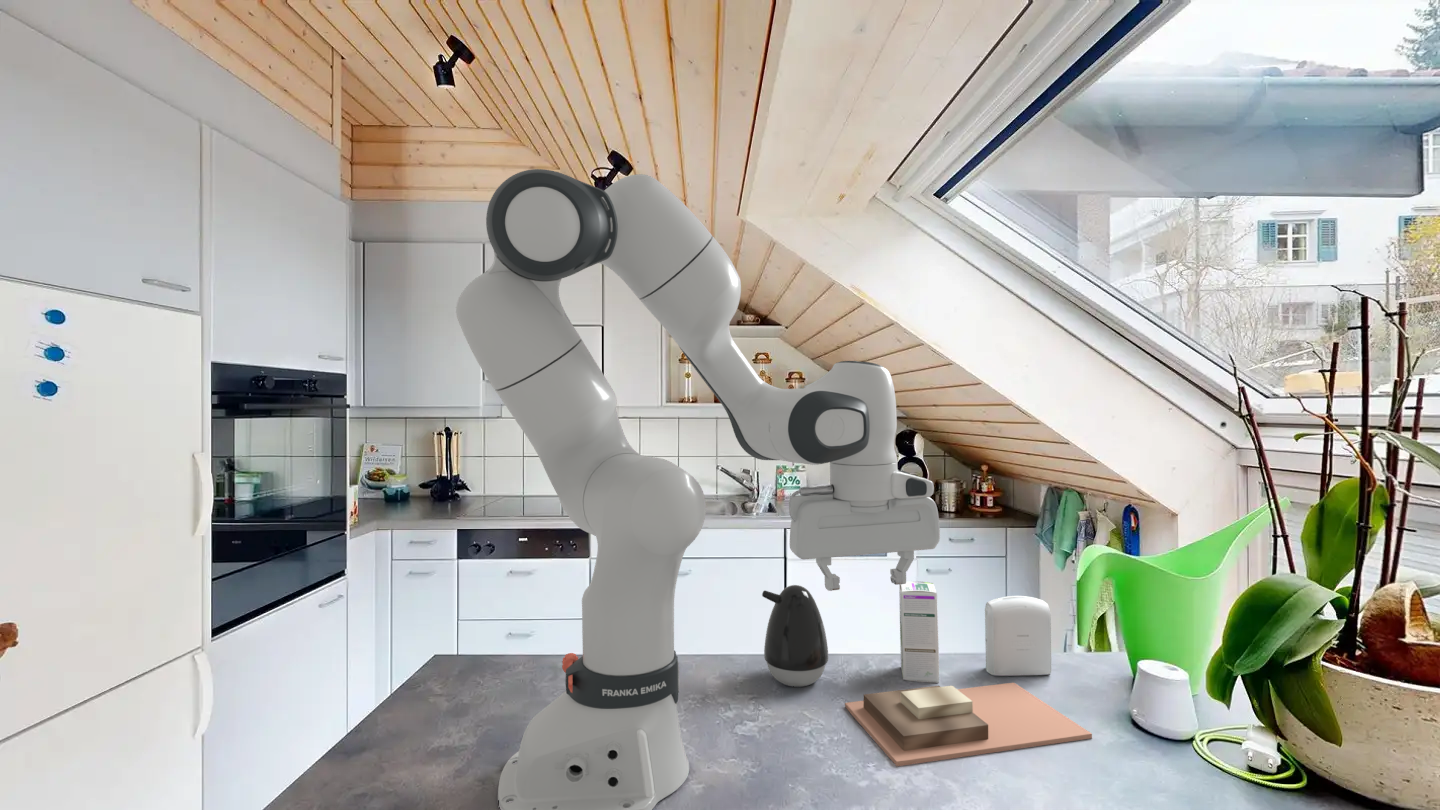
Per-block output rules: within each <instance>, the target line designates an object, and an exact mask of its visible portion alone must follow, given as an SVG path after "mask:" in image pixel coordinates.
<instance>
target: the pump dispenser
mask: <svg viewBox="0 0 1440 810" xmlns="http://www.w3.org/2000/svg"><path fill="white" fill-rule="evenodd" d="M761 596H762V597H763V598H765V599H766V600H769V601H770V602H772V603H774V605H773V607H772V610H771V612H770V614H769V619H768V623H767V627H766V632H765V638H764V639H765V640H764V648H763V651H764V653H763V657H764V660H765V662H766V664H767V667H768V671H769V672H770V674H771V675H772V677H773V678H774V679H775V680H776V681H778V682H779V683H781V684H783V685H785V686H789V687H793V686H794V688H799V687H801V688H802V687H806V686H809V685H812V684H814V683H816V682H817V681H818V680H819V679H820V678H821V676H822V675H823V673H824V671H825V670H826V669H825V668H826V665H827V663H828V661H829V647H828V639H827V635H826V630H825V625H824V621H823V618H822V615H821V613H820V609H819V607H818V605H817V603H816V600H815V598H814V597H813V595H812V594H811V592H810V591H809V590H808V589H807V588H805V587H803V586H802V585H800V584H799V585H797V584H793V585H788V586H786V587H785V588H784V589H783V590H782V591H780V593H779V594H778V593H774V592H771V591H769V590H763V591H762V594H761Z"/></svg>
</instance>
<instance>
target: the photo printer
mask: <svg viewBox="0 0 1440 810" xmlns="http://www.w3.org/2000/svg"><path fill="white" fill-rule="evenodd" d="M1051 616H1052V615H1051V610H1050V606H1049V604H1048V602H1046V601H1044V600H1043V599H1039V598H1037V597H1033V596H1026V595H1025V596H1024V595H1008V596H1001V597H999V598H994V599H992V600H989V601H987V602H986V603H985V606H984V625H985V626H984V628H985V629H984V630H985V631H984V632H985V634H984V638H985V639H984V640H985V641H984V643H985V670H986V672H987V673H988V674H989V675H991V676H1003V677H1004V676H1007V677H1009V676H1011V677H1012V676H1043V675H1046V676H1047V675H1051V674H1052V625H1051V624H1052V617H1051Z"/></svg>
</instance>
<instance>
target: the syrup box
mask: <svg viewBox="0 0 1440 810" xmlns="http://www.w3.org/2000/svg"><path fill="white" fill-rule="evenodd" d="M898 585H899V587H898V588H899V598H898V599H899V631H900V632H899V640H900V646H899V647H900V669H901V675H902V680H903V681H910V682H918V683H919V682H920V683H940V655H939V654H940V651H939V649H940V648H939V645H940V644H939V619H938V618H939V616H938V592H937V590H936V587H935V584H934V582H929V581H927V582H926V581H918V580H916V581H915V580H911V581H910V580H909V581H908V580H906V584H898Z"/></svg>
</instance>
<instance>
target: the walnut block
mask: <svg viewBox="0 0 1440 810" xmlns="http://www.w3.org/2000/svg"><path fill="white" fill-rule="evenodd" d="M936 687H941V686H940V685H933V686H924V687H916V688H915V687H914V688H908V689H900V690H898V689H897V690H891V691H881V692H873V693H863V701H864V709H865V710H866V711H867V712H868V713H869V714H870V715H871V716H872V717H873V718H874V719H875V720H876V721H877V723H878V724H879V725H880V726H881V727H882V728H883V729H884V730H885V731H886V732H887V733H888V734H889V736H890V737H891V738H892V739H893V740H894V741H895V742H896V743H897V744H898V745H899V746H900V747H901V748H902V750H903V751H908V750H915V749H922V748H929V747H937V746H944V745H951V744H958V743H965V742H972V741H979V740H987V739H988V724H987V723H985V722H984V721H983V720H982V719H980V718H979V717H978V716H977V715H975V714H974V713H973V712H971V713H964V714H956V715H948V716H940V717H933V718H925V719H918V718H917V717H916V716H915V715H914V714H913V713H911V712H910V711H909V710H908V709H907V708H906V707H905V706H904V705H903V704H902V703H901V692H902V691H911V690H919V689H928V688H936Z"/></svg>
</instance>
